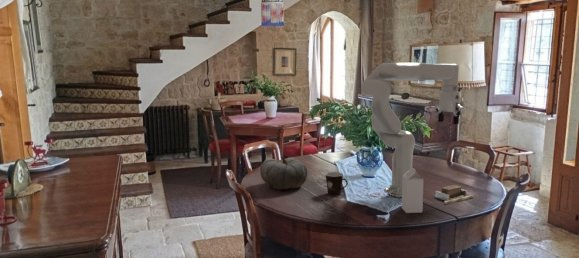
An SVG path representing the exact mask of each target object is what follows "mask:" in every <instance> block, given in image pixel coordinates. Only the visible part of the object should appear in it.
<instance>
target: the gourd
mask: <svg viewBox="0 0 579 258" xmlns="http://www.w3.org/2000/svg"><path fill="white" fill-rule="evenodd" d="M260 177H261V179H262V180H263V182H264V183H265V184H266V185H267V186H269V187H271V188H274V189H278V190H281V191H282V190H289V189H292V190H293V189H298V188H300V187H302V186H303V185H304V184H305V182H306V180H307V178H308V169H307V167H306V165H305V163H303V162H302V161H300V160H299V159H298V158H295V157H288V158H285V156H284V155H281V160H280V161H279V160H277V159H275V158H268V159H265V160H264V161H263V162H262V163H261V165H260Z"/></svg>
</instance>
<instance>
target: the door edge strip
mask: <svg viewBox="0 0 579 258" xmlns="http://www.w3.org/2000/svg"><path fill="white" fill-rule="evenodd" d="M473 198H474V195H472V194H470V195H467V196H465V197H461V198H457V199H452V200H448V201H445V200H443V201H444V202H443V204H444V205H447V204H452V203H456V202H462V201H464V200H465V201H466V200H469V199H473Z"/></svg>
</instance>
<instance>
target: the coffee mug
mask: <svg viewBox="0 0 579 258" xmlns="http://www.w3.org/2000/svg"><path fill="white" fill-rule="evenodd" d="M325 179H326V181H325V182H326V188H327V195H329V196H332V197H333V196H334V197H335V196H340V195H342V190H343V189H345V188H346V187H348V183H349V182H348V180H347V178H344V173H342V172H340V171H330V172H326V173H325ZM343 181H345V185H344V186H343Z"/></svg>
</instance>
